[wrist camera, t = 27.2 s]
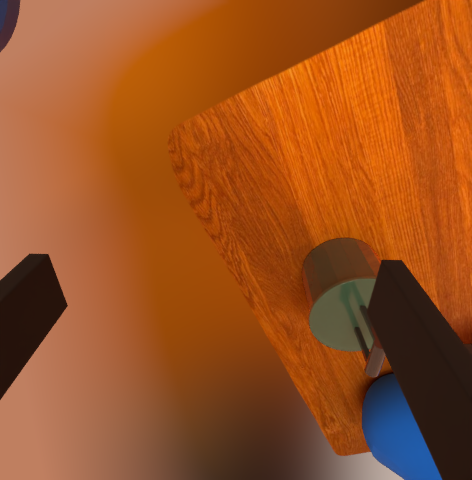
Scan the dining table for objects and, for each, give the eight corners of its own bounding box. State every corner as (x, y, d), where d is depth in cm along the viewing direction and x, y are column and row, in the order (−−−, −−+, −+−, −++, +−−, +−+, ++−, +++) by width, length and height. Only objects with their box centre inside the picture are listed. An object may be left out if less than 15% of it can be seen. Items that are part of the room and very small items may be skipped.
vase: (455, 389, 67) (581, 595, 42) (379, 419, 74) (447, 613, 49) (412, 346, 61) (531, 558, 35) (334, 384, 68) (385, 584, 42)
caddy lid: (302, 343, 47) (312, 397, 40) (314, 271, 40) (328, 320, 33) (393, 346, 47) (420, 400, 40) (420, 274, 40) (459, 323, 33)
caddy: (298, 297, 55) (307, 344, 46) (306, 237, 49) (319, 278, 40) (368, 298, 55) (392, 346, 46) (385, 238, 49) (417, 280, 40)
